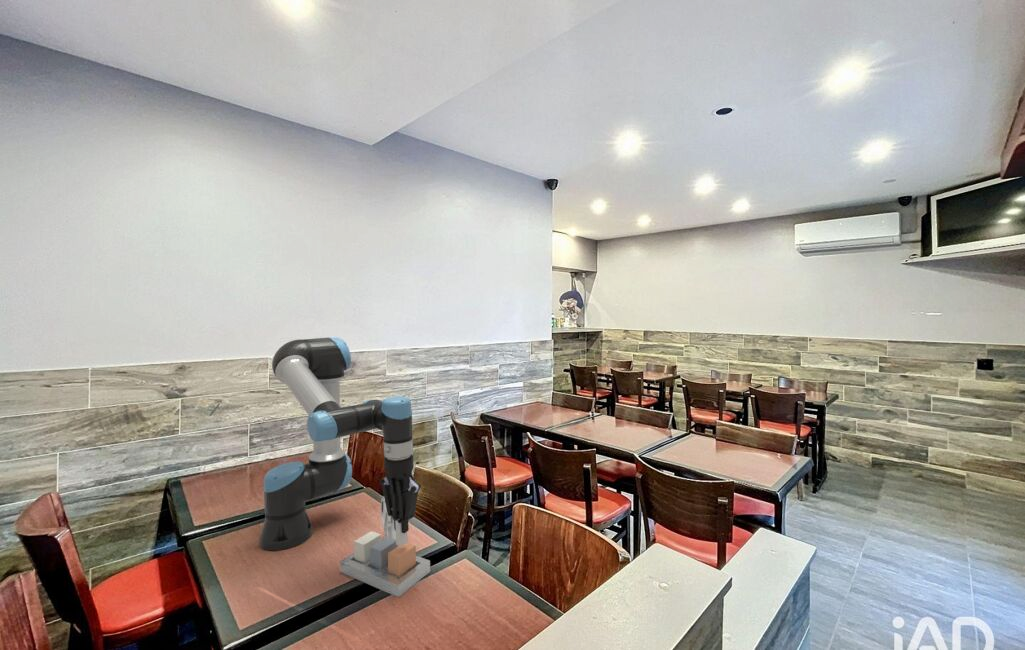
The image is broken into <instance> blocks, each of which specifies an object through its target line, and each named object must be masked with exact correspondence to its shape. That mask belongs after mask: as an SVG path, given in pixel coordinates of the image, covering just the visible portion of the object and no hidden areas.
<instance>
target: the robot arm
mask: <svg viewBox="0 0 1025 650" xmlns="http://www.w3.org/2000/svg"><path fill="white" fill-rule="evenodd" d="M271 362H272V363H271V367H272V368H271V369H272V372H273V374H274V376H275V378H276V379H277V380H278V381H279V382H280V383H283V384H286V386H287V388H288V389H289V391H291V393H292V395H293V396H294V397H295V399H296V400H297V401H298V403H299V404H300V406H301V408H303V410H304V411H305V413H306V414H307V420H306V421H307V422H306V429H307V432H308V436H309V439H311V440H312V443H313V444H312V445H313V446H312V447H313V448H312V449H313V451H312V452H311V453H310V454H309V456H308V463H306V464H304V463H303V462H302V461H298V460H297V461H295V460H294V461H290V462H289V461H288V462H284V463H282V464H279V465H277V466H275V467H273V468H271V469H269V470H268V472H266V474H265V475H264V477H263V487H262V488H263V497H264V498H263V501H264V517H265V518H264V522H263V526H262V527H261V528H262V529H261V533H260V536H259V546H260V548H261V549H263V550H266V551H283V550H286V549H289V548H290V549H291V548H293V547H296V546H298V545H301V544H302V543H304V542H305V541H307V540H308V539H309V538H310V537H312V534H313V524H312V522H311V519H310V517H309V515H308V513H307V510H306V502H307V501H310V500H313V499H316V498H319V497H323V496H325V495H329V494H332V493H333V494H334V493H337V492H338V491H340V490H343V489H345V488H346V487H348V485H349V484H350V482H351V480H352V476H353V475H352V474H353V464H352V460H351V458H350V456H349V455H348V454H346V451H345V450H343V449H342V448H341V438H343V437H347V436H350V435H355V434H360V433H363V432H368V431H372V430H380V431H382V437H383V438H382V439H383V456H384V460H383V461H384V462H383V463H384V464H383V465H384V467H383V468H384V469H383V470H384V473H385V477H383V478H380V479H379V484H380V486H381V488H382V494H383V496H384V499H385V503H386V508H387V513H388V516H392V517H393V519H394V529H395V531H396V545H398V546H402V545H403V544H405V543H409V542H408V540H409V539H408V532H409V530H410V529H409V521H410V520H411V519H413V518H414V517H415V514H416V508H417V501H418V496H419V495H418V494H419V491H420V490H421V488H422V486H421V483H416V482H415V481H414V476H413V470H414V455H413V453H414V443H413V441H414V440H413V410H412V401H411V399H410V398H409V397H407V396H399V395H398V396H391V397H386V398H384V399H383V400H380V399H367V400H365V401H364V402H362V403H360V404H358V403H357V404H355V405H348V406H342V407H341V397H340V396H341V395H340V393H341V392H340V391H341V390H340V388H341V386H340V383H341V380H342V379H343V378H344V377H345V371H347V370H349V369H350V367H351V364H352V356H351V352H350V349H349V346H348V345H347V343H346V342H345V340H344V339H342V338H339V337H316V338H304V339H302V338H301V339H293V340H290V341H288V342H286V343H284V344H283V345H282V346H280V347H279V348H278V349H277V351H276V352H275V354H274V355H273V358H272V361H271ZM391 509H392V510H391Z"/></svg>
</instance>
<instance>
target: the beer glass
mask: <svg viewBox="0 0 1025 650" xmlns="http://www.w3.org/2000/svg"><path fill="white" fill-rule="evenodd" d="M380 500H381V501H380V515H381V523H382V527H383V532H384V539H385V538H386V537H390V538H393V539H396V531H395V529H394V519H393V517H392V516H388V513H387V508H386V503H385V499H384V495H383V496H382V497H381V499H380ZM391 510H392V509H391Z"/></svg>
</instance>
